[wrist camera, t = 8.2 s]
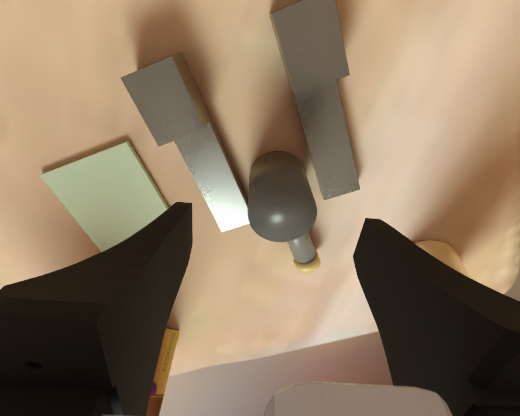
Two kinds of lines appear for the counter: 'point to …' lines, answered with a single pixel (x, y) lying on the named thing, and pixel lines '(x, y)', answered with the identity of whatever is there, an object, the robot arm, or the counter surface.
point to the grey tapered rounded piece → (283, 206)
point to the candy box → (162, 372)
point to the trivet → (107, 194)
